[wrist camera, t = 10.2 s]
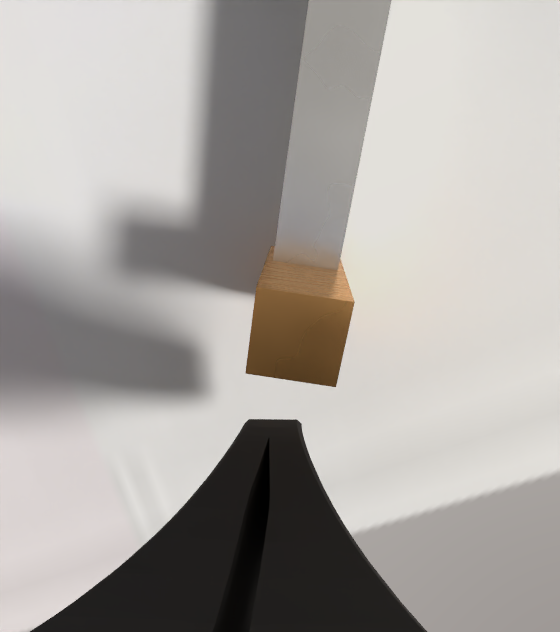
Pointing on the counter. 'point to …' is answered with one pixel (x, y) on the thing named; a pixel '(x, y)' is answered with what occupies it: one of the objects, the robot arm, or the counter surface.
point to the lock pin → (318, 197)
